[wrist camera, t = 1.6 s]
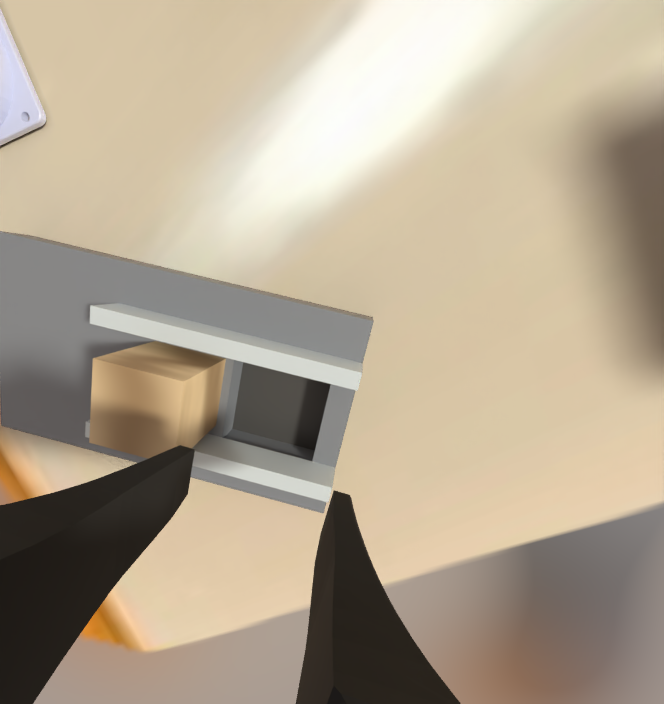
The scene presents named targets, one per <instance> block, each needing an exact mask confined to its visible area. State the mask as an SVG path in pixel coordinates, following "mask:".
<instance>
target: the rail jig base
mask: <svg viewBox="0 0 664 704" xmlns="http://www.w3.org/2000/svg"><path fill="white" fill-rule="evenodd" d="M372 325H373V317H369V316H365V315H361V314H357V313H353V312H348V311H344V310H340V309H336V308H332V307H327V306H323V305H319V304H315V303H311V302H306V301H302V300H298V299H294V298H290V297H286V296H281V295H277V294H273V293H269V292H265V291H260V290H256V289H252V288H248V287H244V286H240V285H235V284H231V283H227V282H223V281H219V280H214V279H210V278H206V277H202V276H198V275H193V274H189V273H185V272H181V271H177V270H173V269H168V268H164V267H160V266H156V265H152V264H147V263H143V262H139V261H135V260H131V259H127V258H122V257H118V256H114V255H110V254H106V253H101V252H97V251H93V250H89V249H85V248H80V247H76V246H72V245H68V244H64V243H60V242H55V241H51V240H47V239H43V238H39V237H34V236H30V235H23V234H16V233H9V232H2V231H0V398H1V426H4V427H8V428H12V429H15V430H19V431H23V432H26V433H30V434H34V435H37V436H41V437H45V438H48V439H52V440H56V441H60V442H63V443H67V444H71V445H74V446H78V447H82V448H85V449H89V450H93V451H96V452H100V453H104V454H107V455H111V456H115V457H118V458H122V459H126V460H129V461H133V462H137V463H139V462H141V461H144V460H146V459H148V458H144V457H140V456H137V455H133V454H129V453H125V452H122V451H118V450H114V449H111V448H107V447H103V446H100V445H96V444H92V443H89V436H90V413H91V390H92V367H93V358H96V357H99V356H103V355H107V354H110V353H114V352H117V351H121V350H125V349H128V348H132V347H135V346H139V345H143V344H146V343H150V342H153V341H158V342H162V343H166V344H170V345H174V346H178V347H182V348H186V349H190V350H194V351H198V352H202V353H206V354H210V355H214V356H218V357H222V358H226V362H225V369H224V375H223V382H222V389H221V395H220V402H219V409H218V415H217V422H216V426H215V427H214V428H213V429H211V430H210V431H209V432H208V433H207V434H206V435H205V436H204V437H203V438H202V439H201V440H200V441H199V442H198V443H197V444H196V445H195V446H194V447H193V448H192V449H195V453H194V459H193V465H192V471H191V477H192V478H195V479H199V480H203V481H206V482H210V483H214V484H217V485H221V486H225V487H228V488H232V489H236V490H240V491H243V492H247V493H251V494H254V495H258V496H262V497H265V498H269V499H273V500H276V501H280V502H284V503H287V504H291V505H295V506H298V507H302V508H306V509H309V510H313V511H317V512H320V513H324V509H325V505H326V502H329V498H330V494H331V490H332V486H333V479H334V473H335V467H336V463H337V459H338V455H339V452H340V448H341V444H342V440H343V436H344V432H345V429H346V425H347V421H348V417H349V413H350V409H351V405H352V402H353V398H354V394H355V390H356V391H358V387H359V384H360V380H361V376H362V364H363V359H364V356H365V352H366V348H367V344H368V340H369V336H370V333H371V329H372Z"/></svg>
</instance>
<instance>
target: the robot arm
mask: <svg viewBox="0 0 664 704" xmlns="http://www.w3.org/2000/svg"><path fill="white" fill-rule="evenodd" d="M29 117H30V119H29ZM28 119H29V120H28ZM45 122H46V115H45V112H44V110H43V107H42V105H41V103H40V100H39V98H38V96H37V93H36V91H35V89H34V86H33V84H32V82H31V79H30V77H29V75H28V72H27V70H26V67H25V65H24V63H23V60H22V58H21V56H20V53H19V51H18V49H17V46H16V44H15V42H14V39H13V37H12V35H11V32H10V30H9V28H8V25H7V23H6V21H5V18H4V16H3V13H2V11H1V9H0V146H1V145H3V144H5V143H7V142H9V141H11V140H13V139H15V138H17V137H20V136H22V135H24V134H26V133H28V132H30V131H32V130H34V129H36V128H38V127H41V126H42V125H44V124H45ZM194 453H195V449H192V448H188V447H185V446H181V445H179V446H177V447H174V448H172V449H169V450H167V451H165V452H162V453H160V454H158V455H155V456H153V457H151V458H149V459H146V460H144V461H141V462H139V463H137V464H134V465H132V466H130V467H127V468H125V469H122V470H119V471H117V472H114V473H111V474H109V475H106V476H104V477H101V478H98V479H96V480H93V481H90V482H87V483H84V484H81V485H78V486H74V487H71V488H68V489H65V490H61V491H58V492H54V493H51V494H47V495H43V496H39V497H35V498H31V499H27V500H22V501H18V502H14V503H10V504H6V505H0V704H33V703H34V701H35V700H36V698H37V696H38V695H39V694H40V692H41V691H42V689H43V688H44V686H45V685H46V683H47V682H48V680H49V679H50V677H51V676H52V674H53V673H54V671H55V670H56V668H57V667H58V665H59V664H60V662H61V661H62V659H63V657H64V656H65V655H66V653H67V652H68V650H69V649H70V648H71V646H72V645H73V643H74V642H75V640H76V639H77V638H78V636H79V635H80V633H81V632H82V630H83V629H84V628H85V626H86V625H87V623H88V622H89V620H90V619H91V618H92V616H93V615H94V613H95V612H96V611H97V609H98V608H99V607H100V605H101V604H102V602H103V601H104V600H105V598H106V597H107V595H108V594H109V593H110V591H111V590H112V589H113V587H114V586H115V585H116V584H117V582H118V581H119V580H120V578H121V577H122V576H123V575H124V574H125V572H126V571H127V570H128V569H129V568H130V567H131V565H132V564H133V563H134V562H135V561H136V559H137V558H138V557H139V556H140V555H141V554H142V552H143V551H144V550H145V549H146V548H147V547H148V545H149V544H150V543H151V542H152V541H153V540H154V538H155V537H156V536H157V535H158V534H159V532H160V531H161V530H162V529H163V528H164V526H165V525H166V524H167V523H168V522H169V520H170V519H171V518H172V517H173V515H174V514H175V512H176V511H177V509H178V508H179V506H180V505H181V503H182V502H183V500H184V499H185V497H186V496H187V494H188V488H189V483H190V477H191V471H192V465H193V459H194ZM296 704H460V702H459V701H458V700H457V699H456V697H455V696H454V695H453V693H452V692H451V691H450V689H449V688H448V687H447V686H446V684H445V683H444V682H443V680H442V679H441V678H440V677H439V675H438V674H437V673H436V671H435V670H434V669H433V668H432V666H431V665H430V663H429V662H428V661H427V659H426V658H425V656H424V655H423V653H422V652H421V650H420V649H419V648H418V646H417V645H416V643H415V642H414V640H413V639H412V637H411V636H410V634H409V632H408V631H407V629H406V628H405V626H404V624H403V623H402V621H401V619H400V618H399V616H398V614H397V613H396V611H395V609H394V607H393V605H392V604H391V602H390V600H389V598H388V596H387V594H386V592H385V590H384V588H383V586H382V584H381V582H380V580H379V578H378V576H377V574H376V571H375V569H374V567H373V564H372V562H371V560H370V557H369V555H368V552H367V550H366V547H365V544H364V541H363V538H362V536H361V533H360V530H359V527H358V523H357V520H356V516H355V513H354V509H353V504H352V499H351V497H350V495H348V494H344V493H341V492H338V491H333V495H332V498H331V501H330V505H329V508H328V511H327V515H326V518H325V521H324V525H323V528H322V531H321V535H320V540H319V545H318V550H317V555H316V560H315V567H314V577H313V587H312V596H311V606H310V616H309V626H308V635H307V643H306V650H305V655H304V661H303V667H302V673H301V678H300V683H299V689H298V694H297V700H296Z"/></svg>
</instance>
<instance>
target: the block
mask: <svg viewBox="0 0 664 704" xmlns="http://www.w3.org/2000/svg"><path fill="white" fill-rule="evenodd" d="M225 362H226V358H222V357H218V356H214V355H210V354H206V353H202V352H198V351H194V350H190V349H186V348H182V347H178V346H174V345H170V344H166V343H162V342H158V341H153V342H150V343H146V344H143V345H139V346H135V347H132V348H128V349H125V350H121V351H117V352H114V353H110V354H107V355H103V356H99V357H96V358H93V367H92V390H91V413H90V436H89V443H92V444H96V445H100V446H103V447H107V448H111V449H114V450H118V451H122V452H125V453H129V454H133V455H137V456H140V457H144V458H148V459H149V458H151V457H153V456H155V455H158V454H160V453H162V452H165V451H167V450H169V449H172V448H174V447H177V446H179V445H181V446H185V447H188V448H193V447H194V446H195V445H196V444H197V443H198V442H199V441H200V440H201V439H202V438H203V437H204V436H205V435H206V434H207V433H208V432H209V431H210V430H211V429H213V428H214V427H215V426H216V422H217V415H218V409H219V402H220V395H221V389H222V382H223V375H224V369H225Z"/></svg>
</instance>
